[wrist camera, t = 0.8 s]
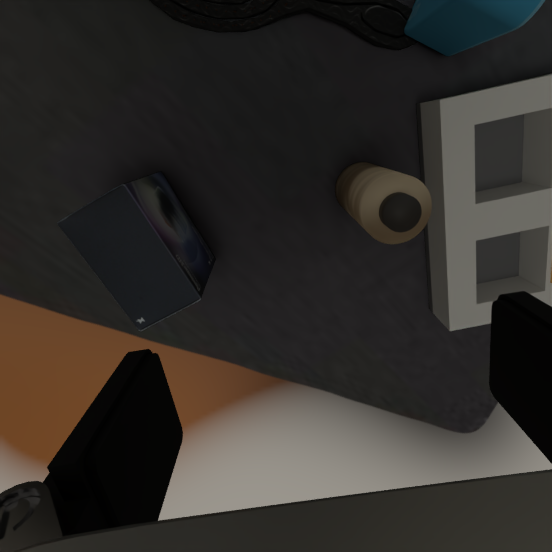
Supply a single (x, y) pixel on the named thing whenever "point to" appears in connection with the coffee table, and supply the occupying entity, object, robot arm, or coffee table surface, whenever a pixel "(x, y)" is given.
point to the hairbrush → (358, 17)
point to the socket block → (487, 197)
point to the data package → (466, 21)
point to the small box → (142, 249)
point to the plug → (384, 201)
